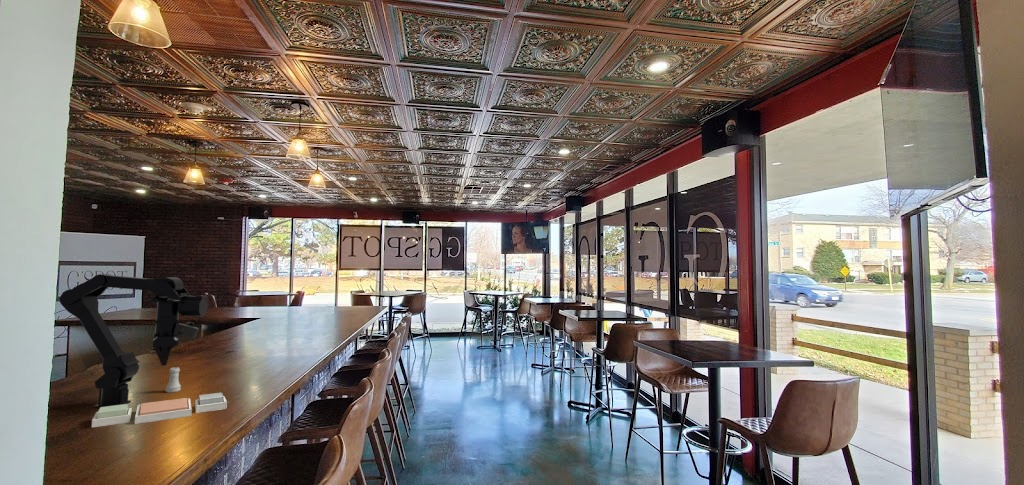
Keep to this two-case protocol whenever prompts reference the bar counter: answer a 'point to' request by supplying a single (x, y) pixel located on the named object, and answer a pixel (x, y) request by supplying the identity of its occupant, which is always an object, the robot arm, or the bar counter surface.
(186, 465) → the bar counter surface
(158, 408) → the terracotta button
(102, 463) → the bar counter surface
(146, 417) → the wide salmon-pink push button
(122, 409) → the sage button
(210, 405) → the grey collar
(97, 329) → the robot arm
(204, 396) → the grey button
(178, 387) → the rook chess piece
